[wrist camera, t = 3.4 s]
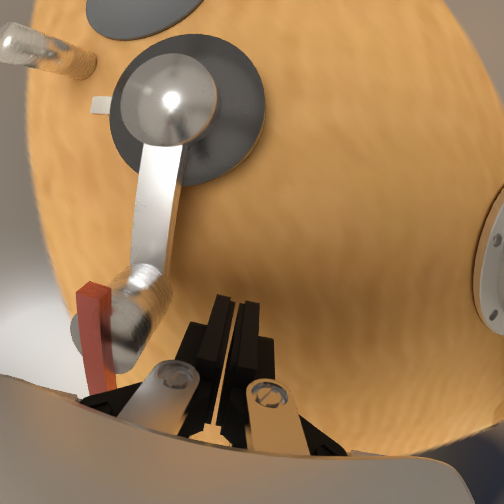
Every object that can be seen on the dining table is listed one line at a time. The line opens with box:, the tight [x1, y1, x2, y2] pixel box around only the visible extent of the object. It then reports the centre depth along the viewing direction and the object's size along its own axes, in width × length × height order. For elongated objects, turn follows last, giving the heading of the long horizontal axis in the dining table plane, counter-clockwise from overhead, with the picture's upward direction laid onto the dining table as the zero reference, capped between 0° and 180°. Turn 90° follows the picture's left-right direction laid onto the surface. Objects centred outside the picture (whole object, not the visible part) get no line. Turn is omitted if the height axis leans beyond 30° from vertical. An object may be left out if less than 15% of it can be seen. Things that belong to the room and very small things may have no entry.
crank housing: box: [0, 22, 266, 186], centre depth 10 cm, size 12×7×7 cm, turn 78°
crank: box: [70, 53, 222, 395], centre depth 10 cm, size 12×4×6 cm, turn 168°
